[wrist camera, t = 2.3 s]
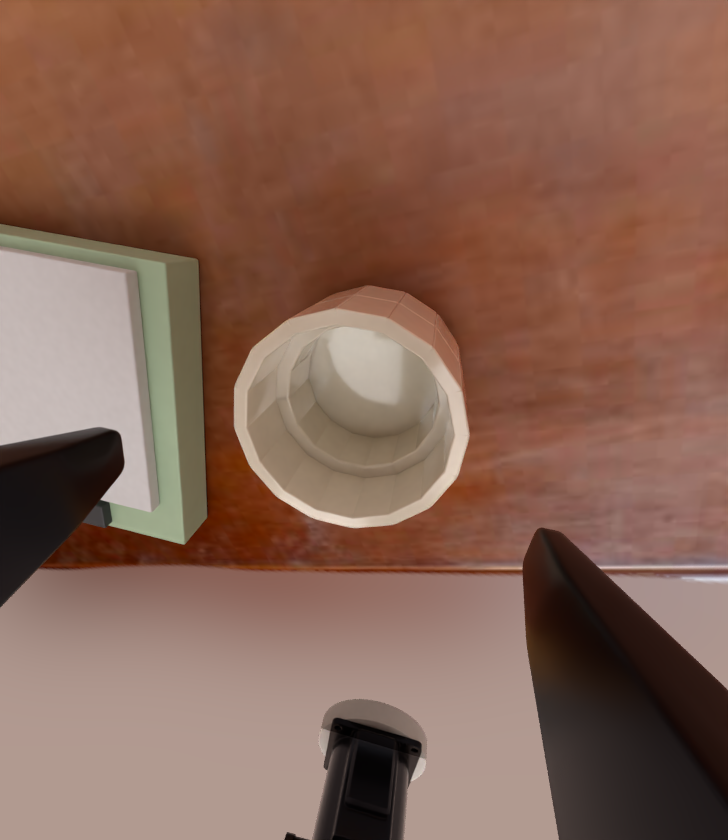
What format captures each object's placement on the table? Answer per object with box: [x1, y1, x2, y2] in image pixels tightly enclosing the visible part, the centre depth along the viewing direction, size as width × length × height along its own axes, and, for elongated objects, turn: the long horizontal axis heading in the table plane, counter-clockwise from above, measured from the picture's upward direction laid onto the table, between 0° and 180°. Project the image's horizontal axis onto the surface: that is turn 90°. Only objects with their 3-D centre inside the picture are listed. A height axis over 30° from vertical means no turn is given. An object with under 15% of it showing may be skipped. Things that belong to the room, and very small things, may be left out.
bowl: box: [234, 285, 470, 528], centre depth 13 cm, size 6×6×5 cm
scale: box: [0, 224, 207, 544], centre depth 17 cm, size 12×12×3 cm
